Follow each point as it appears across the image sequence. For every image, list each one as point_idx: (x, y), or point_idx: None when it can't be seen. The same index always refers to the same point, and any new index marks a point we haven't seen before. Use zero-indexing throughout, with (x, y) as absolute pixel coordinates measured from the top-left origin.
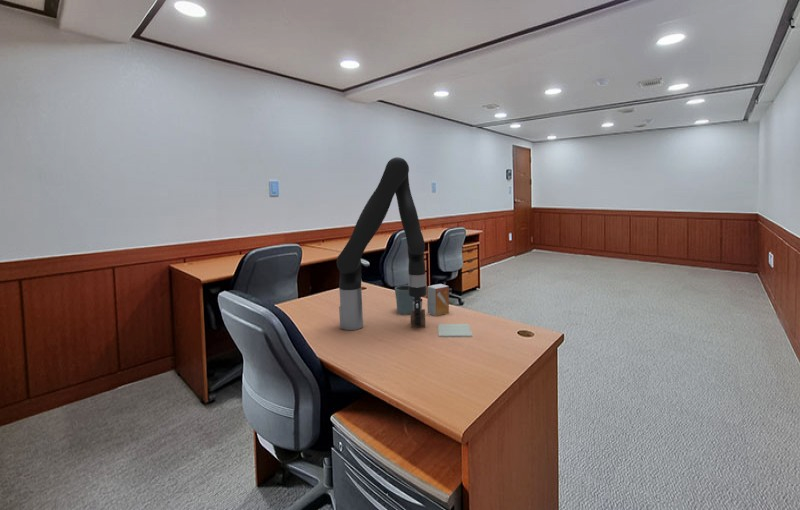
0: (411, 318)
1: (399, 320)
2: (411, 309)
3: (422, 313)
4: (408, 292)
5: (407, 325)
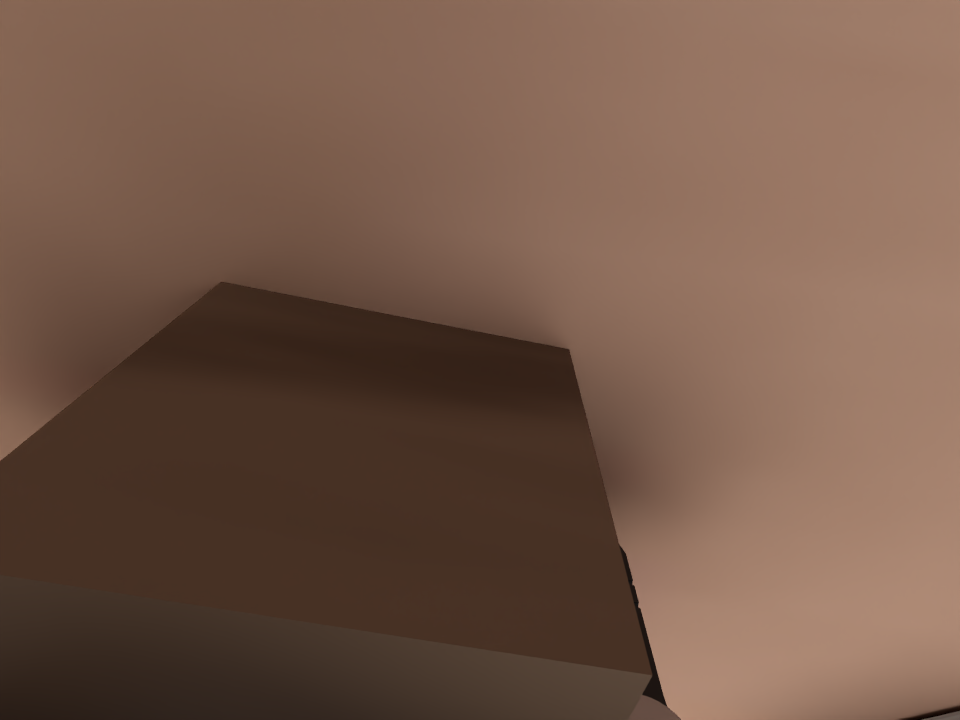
0: (72, 437)
1: (890, 34)
2: (640, 684)
3: None
4: None
5: (382, 221)
